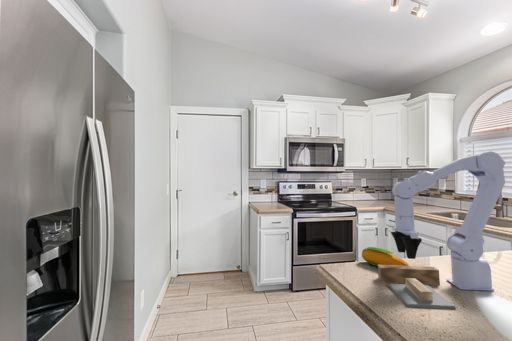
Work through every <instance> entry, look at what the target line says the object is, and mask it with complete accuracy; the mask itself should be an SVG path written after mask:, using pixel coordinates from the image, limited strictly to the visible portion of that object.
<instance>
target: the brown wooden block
mask: <svg viewBox="0 0 512 341" xmlns="http://www.w3.org/2000/svg"><path fill="white" fill-rule="evenodd" d="M377 273H378V274H377V275H378V276H377V277H378V280H379V281H380V282H381V283H394V284H406V282H405V278H415V279H417V280H418V281H419V282H421V283H422V284H423V285H429V286H430V285H434V286H441V285H440V284H441V283H440V280H441V278H440V270H439V269H438V268H436V267H435V266H420V265H409V266H400V265H378V266H377Z"/></svg>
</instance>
